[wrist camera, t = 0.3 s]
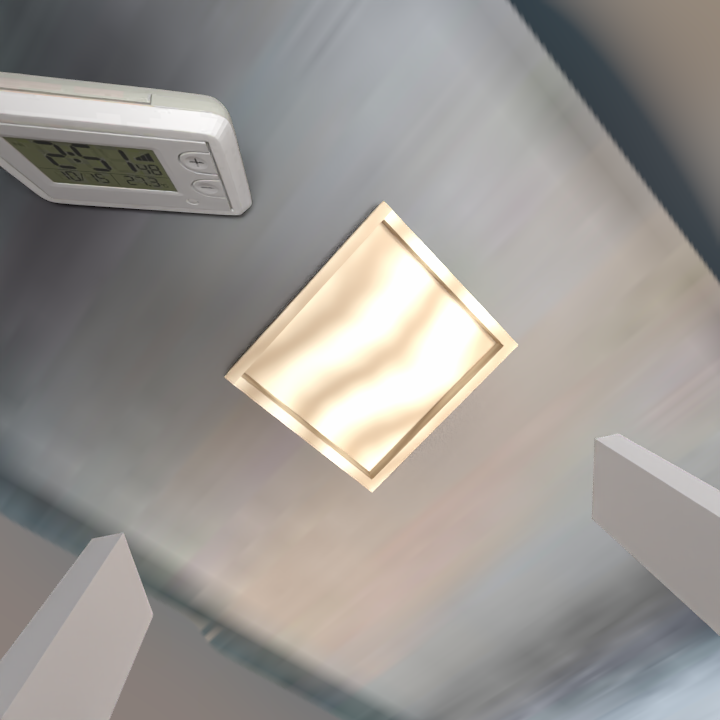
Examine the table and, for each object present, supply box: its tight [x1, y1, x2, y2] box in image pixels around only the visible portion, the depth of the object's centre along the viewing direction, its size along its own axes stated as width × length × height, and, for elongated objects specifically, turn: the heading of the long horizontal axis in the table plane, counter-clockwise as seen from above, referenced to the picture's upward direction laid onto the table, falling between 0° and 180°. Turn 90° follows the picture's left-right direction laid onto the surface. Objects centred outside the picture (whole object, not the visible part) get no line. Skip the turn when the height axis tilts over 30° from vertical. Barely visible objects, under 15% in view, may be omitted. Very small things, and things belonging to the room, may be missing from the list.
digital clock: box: [0, 72, 252, 215], centre depth 26 cm, size 16×9×11 cm, turn 76°
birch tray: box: [224, 201, 518, 492], centre depth 36 cm, size 18×20×2 cm
